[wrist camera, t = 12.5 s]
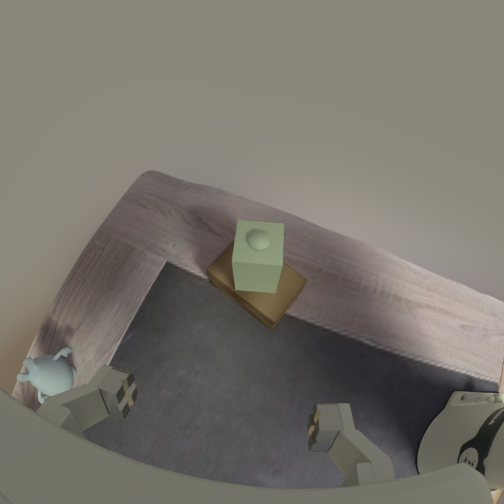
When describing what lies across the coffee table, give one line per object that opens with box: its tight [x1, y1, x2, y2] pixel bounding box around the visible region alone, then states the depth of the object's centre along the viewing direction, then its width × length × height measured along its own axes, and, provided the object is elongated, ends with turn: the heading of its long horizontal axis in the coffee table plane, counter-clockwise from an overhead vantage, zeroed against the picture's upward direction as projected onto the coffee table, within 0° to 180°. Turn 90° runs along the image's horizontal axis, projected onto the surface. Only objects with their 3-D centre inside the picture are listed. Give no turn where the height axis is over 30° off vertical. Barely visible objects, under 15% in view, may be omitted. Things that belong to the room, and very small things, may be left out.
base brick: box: [206, 240, 307, 330], centre depth 38 cm, size 11×7×5 cm, turn 52°
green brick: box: [232, 220, 284, 293], centre depth 32 cm, size 5×5×8 cm
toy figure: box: [17, 347, 77, 404], centre depth 27 cm, size 11×6×12 cm, turn 153°
